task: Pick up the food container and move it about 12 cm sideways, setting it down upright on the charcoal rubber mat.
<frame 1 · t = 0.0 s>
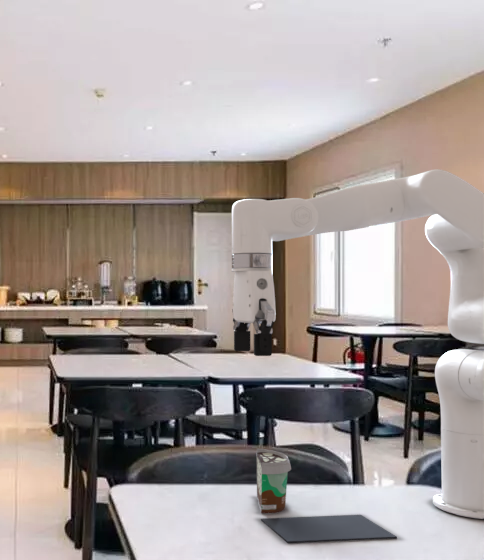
hand: (252, 353, 119), 31 cm above the table, tool pointing down, fingers open, 9 cm apart
food container: (275, 507, 124), on the table
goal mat: (326, 528, 112), on the table
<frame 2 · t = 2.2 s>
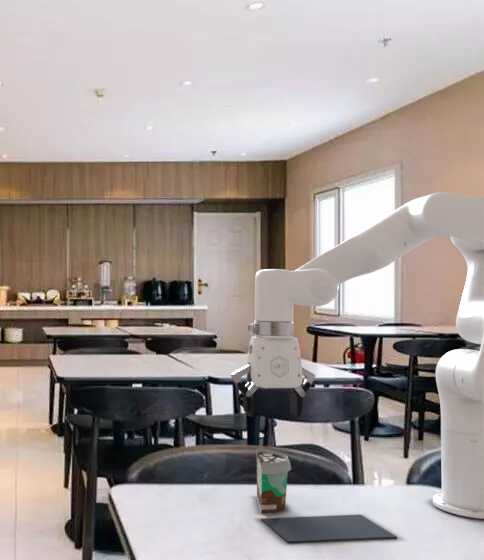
hand: (272, 415, 125), 18 cm above the table, tool pointing down, fingers open, 9 cm apart
nothing on the table moved.
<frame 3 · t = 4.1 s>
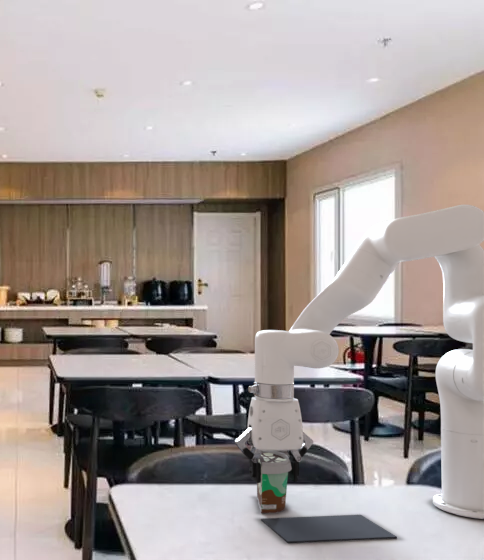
hand: (274, 479, 124), 5 cm above the table, tool pointing down, fingers closed on food container, 7 cm apart
food container: (274, 507, 124), on the table, touching gripper
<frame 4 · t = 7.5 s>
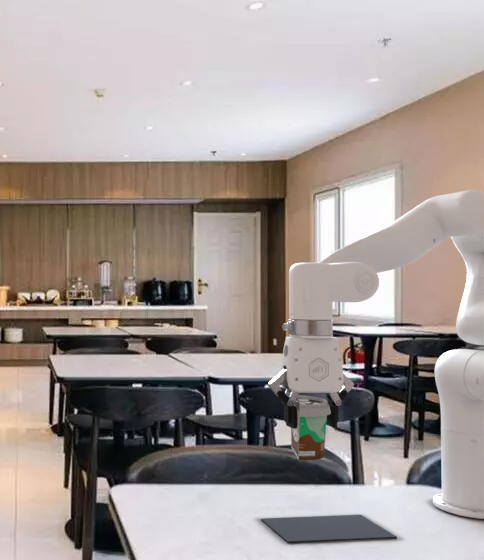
hand: (311, 425, 114), 18 cm above the table, tool pointing down, fingers closed on food container, 7 cm apart
food container: (312, 455, 114), point 13 cm above the table, touching gripper
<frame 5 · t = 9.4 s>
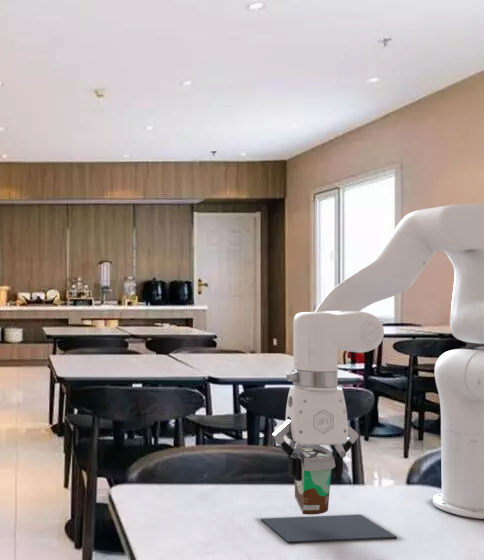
hand: (315, 477, 112), 9 cm above the table, tool pointing down, fingers closed on food container, 7 cm apart
food container: (316, 508, 112), point 4 cm above the table, touching gripper
when the fingers open (6 cm above the table, at t = 11.0 s): food container stays where it is, resting on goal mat.
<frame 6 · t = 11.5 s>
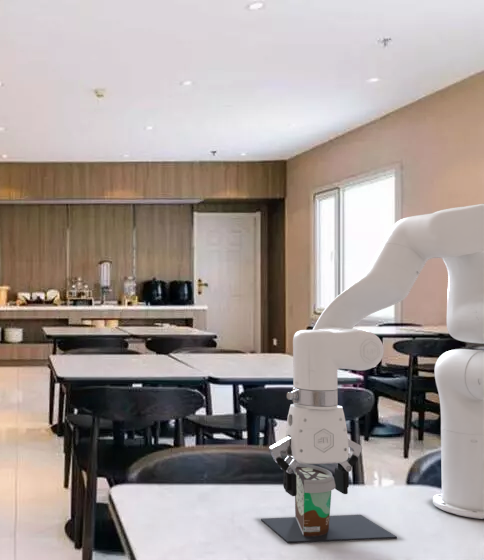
hand: (316, 492, 112), 7 cm above the table, tool pointing down, fingers open, 9 cm apart
food container: (317, 528, 112), resting on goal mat
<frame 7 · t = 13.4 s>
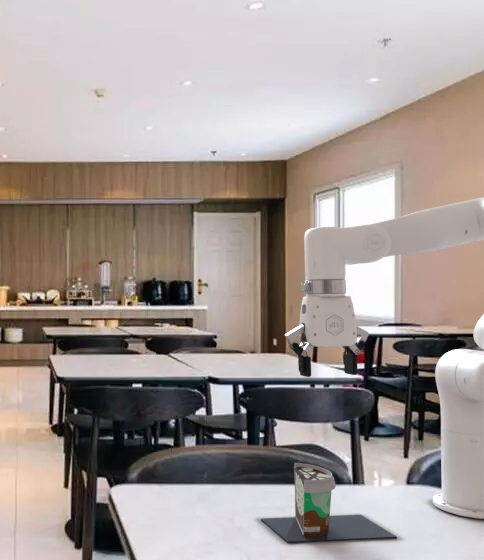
hand: (328, 375, 123), 27 cm above the table, tool pointing down, fingers open, 9 cm apart
nothing on the table moved.
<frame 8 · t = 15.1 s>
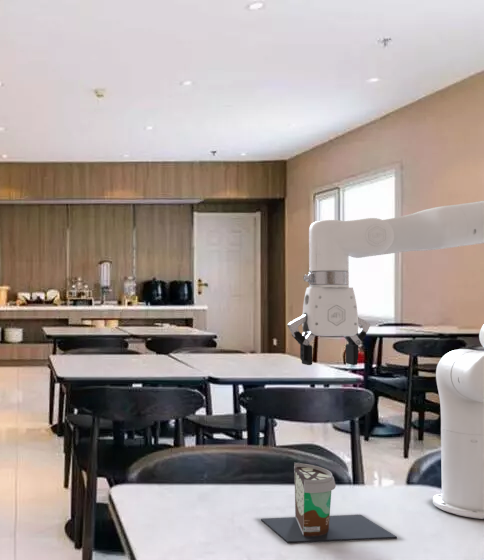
hand: (329, 364, 127), 28 cm above the table, tool pointing down, fingers open, 9 cm apart
nothing on the table moved.
at the end: food container inside the target area (0.2 cm from its centre), resting on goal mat; food container tilted 0°; the gripper is holding nothing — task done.
